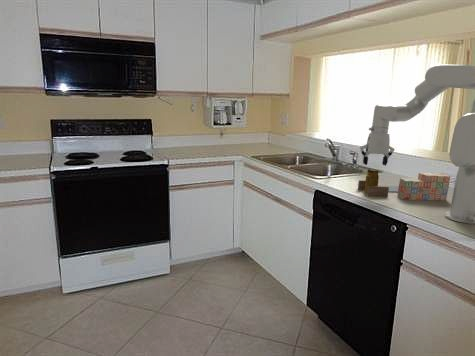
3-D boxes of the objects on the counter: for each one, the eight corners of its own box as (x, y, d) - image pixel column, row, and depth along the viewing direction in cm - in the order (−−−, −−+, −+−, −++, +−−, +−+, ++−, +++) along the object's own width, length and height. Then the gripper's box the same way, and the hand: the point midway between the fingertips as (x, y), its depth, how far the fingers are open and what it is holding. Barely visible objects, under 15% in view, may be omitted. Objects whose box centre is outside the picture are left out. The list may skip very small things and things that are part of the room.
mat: (408, 192, 184) (408, 191, 184) (385, 192, 183) (385, 191, 183) (397, 186, 196) (397, 185, 195) (375, 186, 195) (375, 185, 195)
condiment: (363, 190, 185) (366, 167, 183) (381, 192, 182) (384, 169, 180) (362, 193, 179) (365, 170, 176) (380, 196, 176) (384, 172, 173)
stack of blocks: (403, 199, 171) (406, 174, 168) (397, 196, 177) (400, 172, 174) (446, 200, 172) (450, 175, 169) (438, 197, 178) (442, 173, 175)
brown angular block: (387, 196, 174) (388, 187, 173) (367, 196, 174) (368, 186, 173) (376, 189, 187) (377, 180, 186) (357, 189, 187) (358, 180, 186)
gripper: (365, 130, 169) (360, 165, 174) (400, 132, 170) (395, 166, 174) (359, 128, 177) (355, 162, 181) (393, 130, 178) (388, 163, 182)
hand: (374, 164), depth 178 cm, fingers open, 9 cm apart
